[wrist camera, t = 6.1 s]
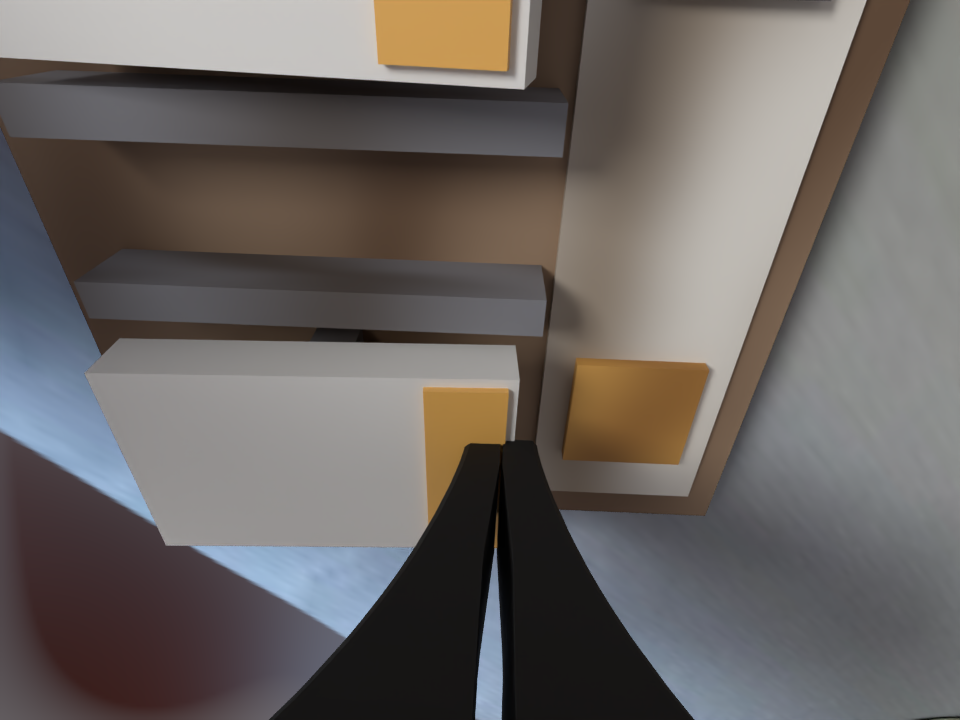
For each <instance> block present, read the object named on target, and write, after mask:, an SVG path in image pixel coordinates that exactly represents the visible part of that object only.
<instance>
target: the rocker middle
mask: <svg viewBox="0 0 960 720" xmlns="http://www.w3.org/2000/svg"><path fill="white" fill-rule="evenodd" d="M541 8H542V0H0V57H2V58H18V59H35V60H51V61H67V62H83V63H100V64H116V65H132V66H149V67H165V68H181V69H198V70H214V71H230V72H247V73H263V74H279V75H296V76H312V77H328V78H344V79H361V80H377V81H393V82H410V83H426V84H442V85H459V86H475V87H491V88H508V89H525V88H526V87H527V86H528V85H529V84H530V83H531V82H532V81H533V80H534V79H535V78H536V73H537V60H538V47H539V34H540V21H541Z"/></svg>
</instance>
